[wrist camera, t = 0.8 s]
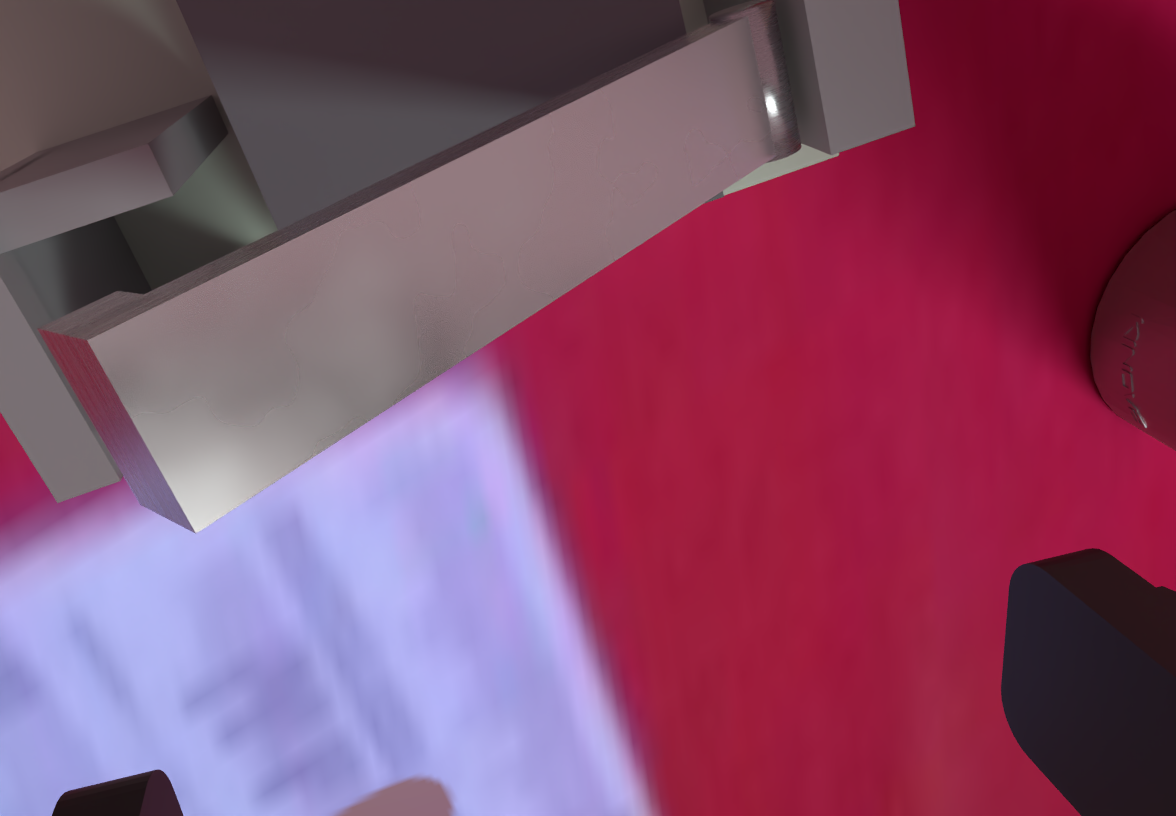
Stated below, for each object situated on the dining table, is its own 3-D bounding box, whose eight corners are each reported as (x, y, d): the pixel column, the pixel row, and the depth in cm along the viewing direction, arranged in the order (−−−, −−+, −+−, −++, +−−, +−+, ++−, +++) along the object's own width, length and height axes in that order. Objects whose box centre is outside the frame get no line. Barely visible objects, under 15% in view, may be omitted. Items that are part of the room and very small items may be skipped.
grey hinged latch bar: (704, 9, 23) (786, -7, 21) (735, 146, 24) (813, 140, 22) (33, 321, 14) (88, 334, 12) (143, 509, 15) (205, 542, 14)
